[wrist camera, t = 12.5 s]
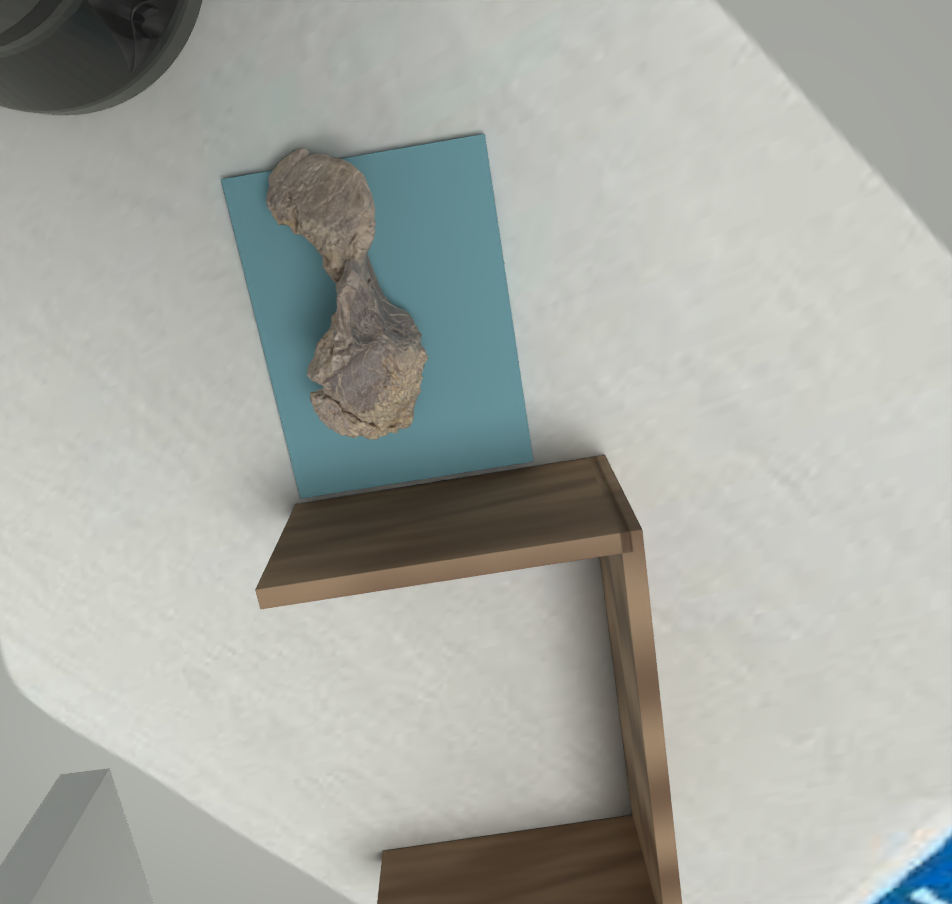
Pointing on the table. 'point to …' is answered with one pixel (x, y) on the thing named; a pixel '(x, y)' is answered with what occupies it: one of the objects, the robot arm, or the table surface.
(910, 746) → the table surface
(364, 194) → the rock
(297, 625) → the table surface
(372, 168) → the teal rubber mat
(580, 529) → the walnut cubby
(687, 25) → the table surface
